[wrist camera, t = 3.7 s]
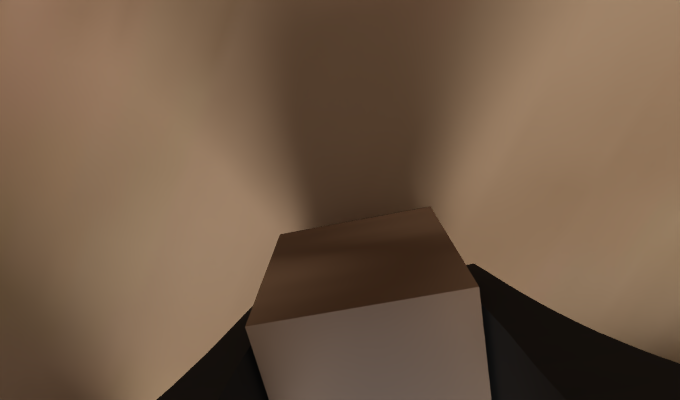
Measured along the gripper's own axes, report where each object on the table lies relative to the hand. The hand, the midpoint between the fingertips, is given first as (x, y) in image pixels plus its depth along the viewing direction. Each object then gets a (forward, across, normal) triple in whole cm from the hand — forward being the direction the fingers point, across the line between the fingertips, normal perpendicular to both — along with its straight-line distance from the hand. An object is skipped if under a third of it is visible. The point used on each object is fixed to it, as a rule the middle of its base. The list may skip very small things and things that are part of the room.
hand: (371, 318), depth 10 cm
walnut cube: (+2, 0, 0) cm, 2 cm away
